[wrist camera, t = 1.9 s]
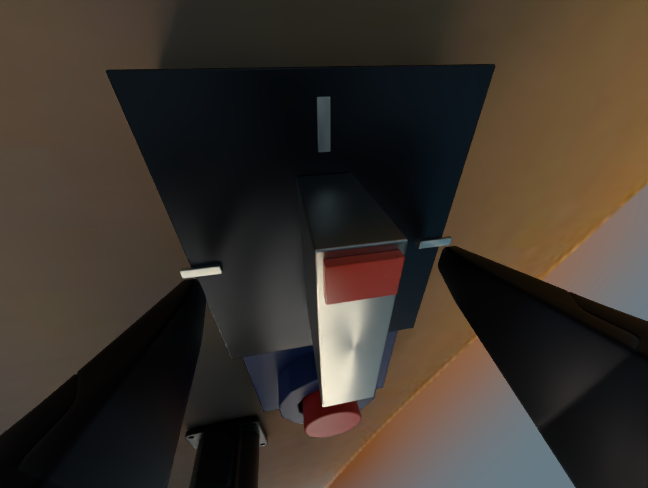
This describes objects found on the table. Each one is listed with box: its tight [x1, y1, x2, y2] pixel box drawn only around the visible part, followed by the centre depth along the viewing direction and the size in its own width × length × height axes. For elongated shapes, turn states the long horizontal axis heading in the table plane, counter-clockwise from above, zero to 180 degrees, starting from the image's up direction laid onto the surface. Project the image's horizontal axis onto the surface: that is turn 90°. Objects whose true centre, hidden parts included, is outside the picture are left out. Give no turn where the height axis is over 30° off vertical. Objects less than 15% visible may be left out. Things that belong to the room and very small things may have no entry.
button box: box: [243, 331, 397, 423], centre depth 17 cm, size 8×10×4 cm
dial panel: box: [106, 64, 495, 359], centre depth 11 cm, size 12×11×3 cm
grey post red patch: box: [296, 173, 408, 407], centre depth 8 cm, size 6×2×4 cm, turn 1°
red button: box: [302, 390, 361, 437], centre depth 16 cm, size 4×4×2 cm
